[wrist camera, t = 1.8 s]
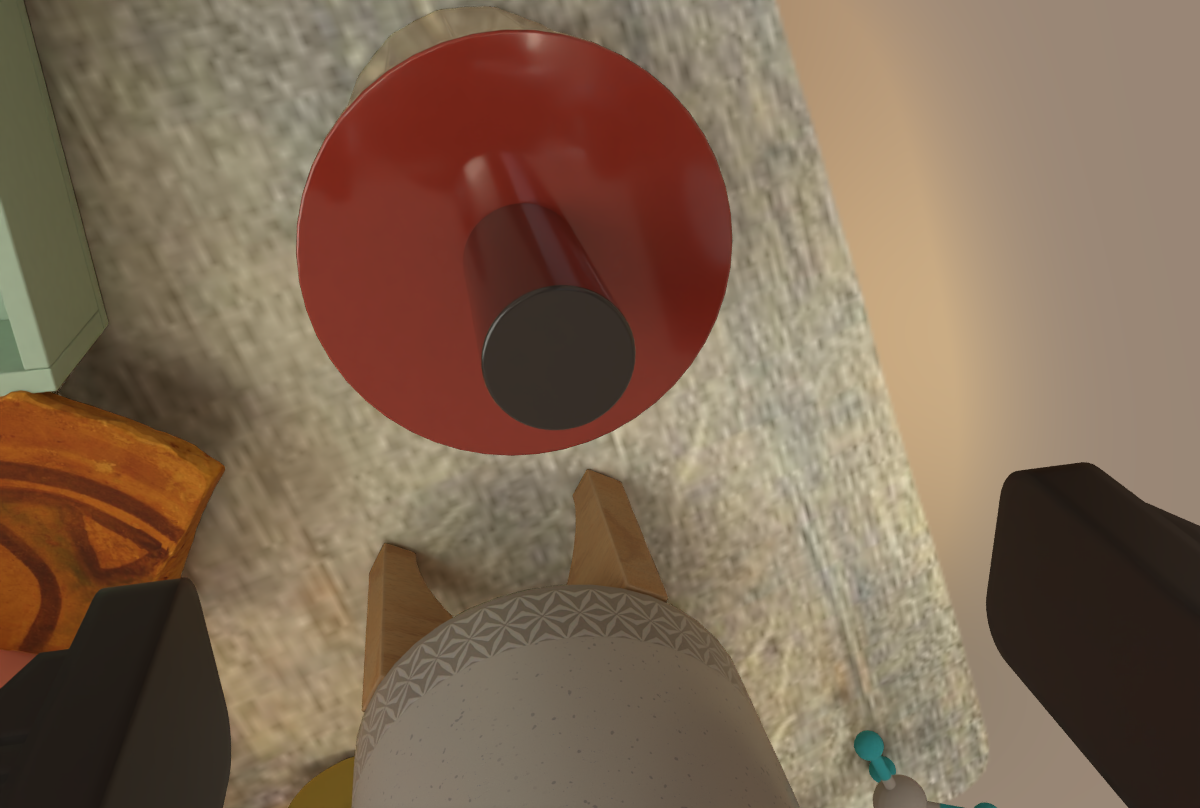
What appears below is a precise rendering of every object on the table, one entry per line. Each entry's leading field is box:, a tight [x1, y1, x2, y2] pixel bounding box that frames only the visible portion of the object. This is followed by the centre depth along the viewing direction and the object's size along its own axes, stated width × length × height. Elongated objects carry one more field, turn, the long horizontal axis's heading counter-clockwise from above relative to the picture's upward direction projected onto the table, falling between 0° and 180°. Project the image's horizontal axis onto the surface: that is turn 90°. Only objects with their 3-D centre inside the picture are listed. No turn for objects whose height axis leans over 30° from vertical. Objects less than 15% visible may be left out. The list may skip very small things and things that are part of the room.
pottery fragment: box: [0, 391, 225, 654], centre depth 31 cm, size 10×5×10 cm
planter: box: [351, 469, 800, 808], centre depth 33 cm, size 13×13×18 cm
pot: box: [348, 6, 552, 105], centre depth 27 cm, size 8×8×14 cm
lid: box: [296, 28, 732, 456], centre depth 19 cm, size 9×9×7 cm
